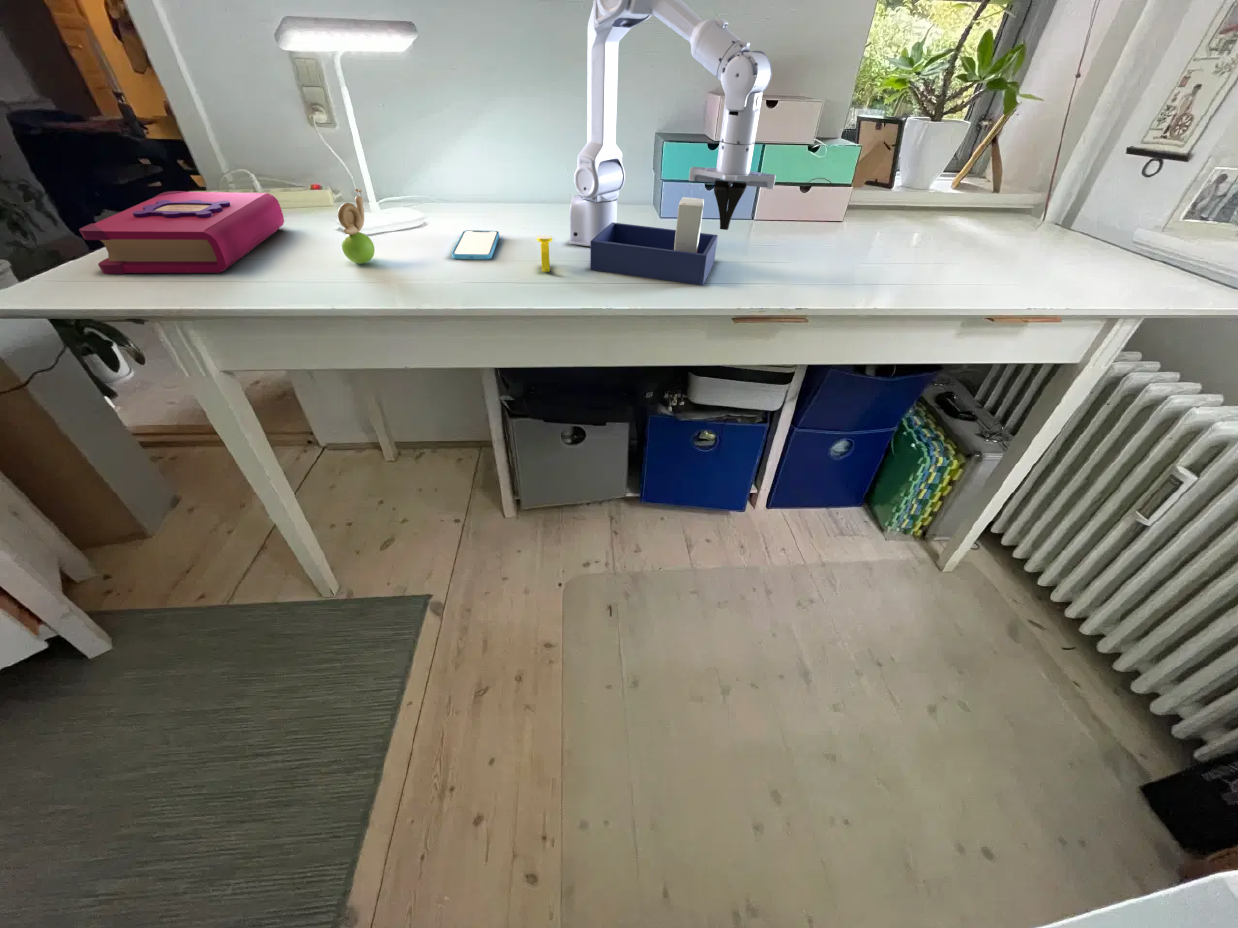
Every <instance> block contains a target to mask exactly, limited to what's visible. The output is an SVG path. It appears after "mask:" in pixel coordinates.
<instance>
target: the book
mask: <svg viewBox="0 0 1238 928" xmlns="http://www.w3.org/2000/svg"><path fill="white" fill-rule="evenodd" d="M284 218H285V217H284V213H283V210H282V207H281V205H280V203H279V200H278V199H277V198H276V196H275V195H273V194H271V193H269V192H229V191H227V192H225V191H223V192H221V191H216V192H215V191H214V192H213V191H211V192H210V191H186V190H169V191H164V192H162V193H159V194H157V195H155V196H154V197H152V198H149V199H147V200H145V201H143V202H140V203H139V204H136V205H133V206H131V207H129V208H126V209H125V210H122V211H120V212H117V213H115V214H113V215H111V216H108V217H106V218H103V219H101V220H99V221H97V222H95V223H93V222H92V223H89V224H87V225H85V226H82V227H80V228H79V229H78V230H79V233H80V234H81V236H82V238H83V239H84V240H86V241H100V242H101V243H103V246H104V247H105V249H106V251H107V254H108V255H107V256H108V257H107V258H105V259H102V260H101V261H99V262H98V263H97V264H98V267H99V269H100V271H101V272H102V274H104V275H126V274H182V273H183V274H194V273H195V274H197V273H198V274H199V273H200V274H202V273H203V274H204V273H205V274H210V273H211V274H213V273H214V274H216V273H217V274H218V273H219V274H220V273H222V272H224V271H226V270H227V269H229V268H230V267H231V266H232V265H234V264H235V263H236V262H238V261H239V260H241V258H243V257H245V256H246V255H247V254H248V253H250V252H251V251H252V250H253V249H255V248H256V247H257V246H258V245H260V244H261V243H262V242H264V241H265V240H266V239H268V238H269V237H270V236H272V235H273V234H274V233H276V232H277V231H278V230H279V229H280V228H282V226H284V224H285V219H284Z"/></svg>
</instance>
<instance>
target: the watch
mask: <svg viewBox="0 0 1238 928" xmlns="http://www.w3.org/2000/svg"><path fill="white" fill-rule="evenodd" d="M536 241H537V242H538V243H540V256H541V257H540V259H541V263H540V264H541V272H542V273H543V272H544V273H545V272H546V273H547V272H548V273H549V272H550V270H551V266H550V243H551V242H553V236H552V235H548V234H540V235H537V236H536Z"/></svg>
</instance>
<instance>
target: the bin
mask: <svg viewBox="0 0 1238 928" xmlns="http://www.w3.org/2000/svg"><path fill="white" fill-rule="evenodd" d="M675 235H676V229H673V228H672V229H671V228H662V227H655V226H648V225H647V226H646V225H639V224H638V225H637V224H630V223H629V224H628V223H622V222H617V223H613V222H612V223H611V224H610V225H608V226H607V227H606V228H605V229H604V230H603V231H602V232H600V233H599V234H598V235H597V236H596V237H595V238H593V239H592V240H591V241H590V246H589V247H590V251H589V252H590V254H589V255H590V256H589V257H590V259H589V261H590V263H589V266H590V267H589V268H590V271H597V272H603V273H612V274H617V275H626V276H632V277H638V278H639V277H640V278H647V279H653V280H661V281H668V282H676V283H682V284H683V283H684V284H689V285H696V286H704V284H705V282H706V279H707V277H708V275H709V273H710V271H711V270H712V268H713V266H714V263H715V258H716V253H717V252H716V251H717V243H718V237H719V235H718V234H713V233H704V232H700V237H699V245H698V253H691V252H683V251H676V250H674V244H675Z"/></svg>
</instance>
